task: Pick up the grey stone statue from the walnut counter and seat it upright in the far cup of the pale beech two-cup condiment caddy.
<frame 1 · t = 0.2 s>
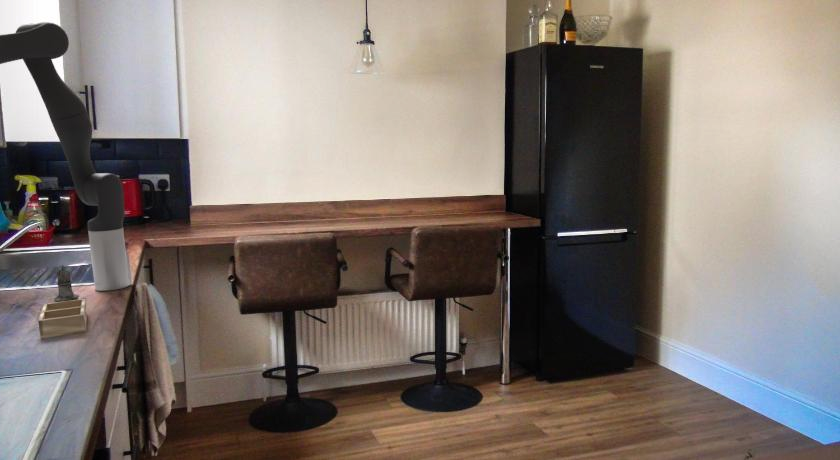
caddy: (65, 325, 161), on the worktop
grey stone statue: (68, 311, 174), on the worktop
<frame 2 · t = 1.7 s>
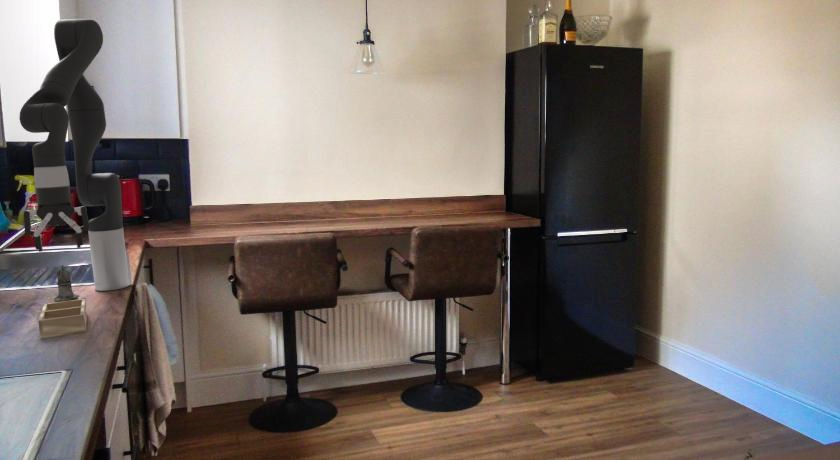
hand: (60, 249, 172), 16 cm above the worktop, fingers open, 8 cm apart
nothing on the worktop moved.
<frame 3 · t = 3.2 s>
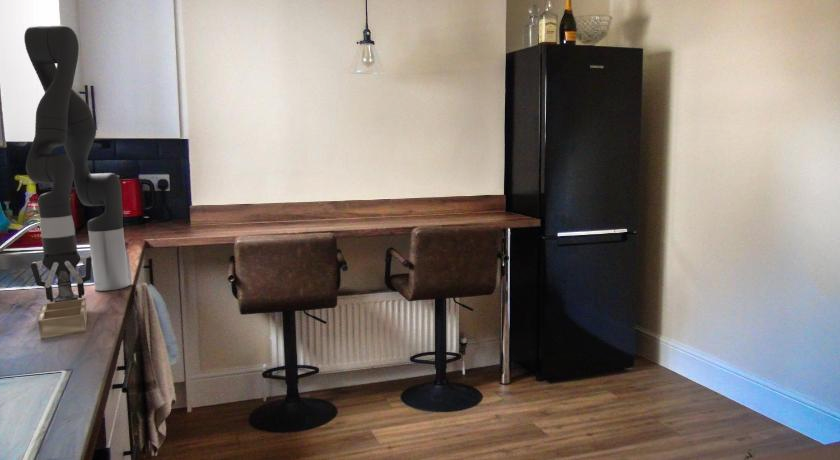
hand: (66, 299, 173), 3 cm above the worktop, fingers closed on grey stone statue, 6 cm apart
grey stone statue: (67, 311, 174), on the worktop, touching gripper
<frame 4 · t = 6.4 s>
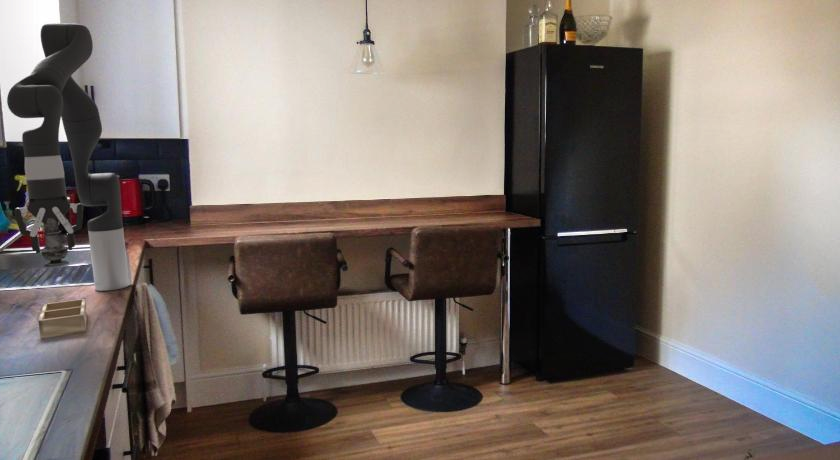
hand: (54, 250, 154), 18 cm above the worktop, fingers closed on grey stone statue, 6 cm apart
grey stone statue: (56, 265, 155), point 15 cm above the worktop, touching gripper
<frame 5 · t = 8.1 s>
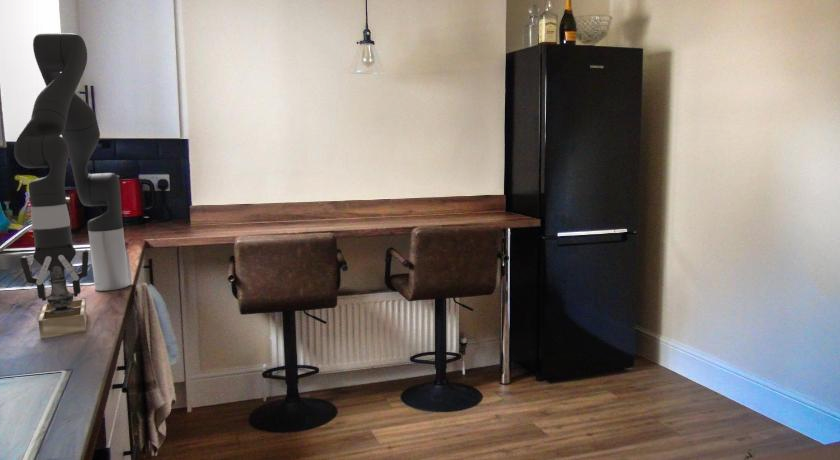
hand: (60, 297, 156), 8 cm above the worktop, fingers closed on grey stone statue, 6 cm apart
grey stone statue: (62, 311, 156), point 4 cm above the worktop, touching gripper
when the fingers open (6 cm above the worktop, at t = 9.5 s): grey stone statue drops 2 cm, resting on caddy.
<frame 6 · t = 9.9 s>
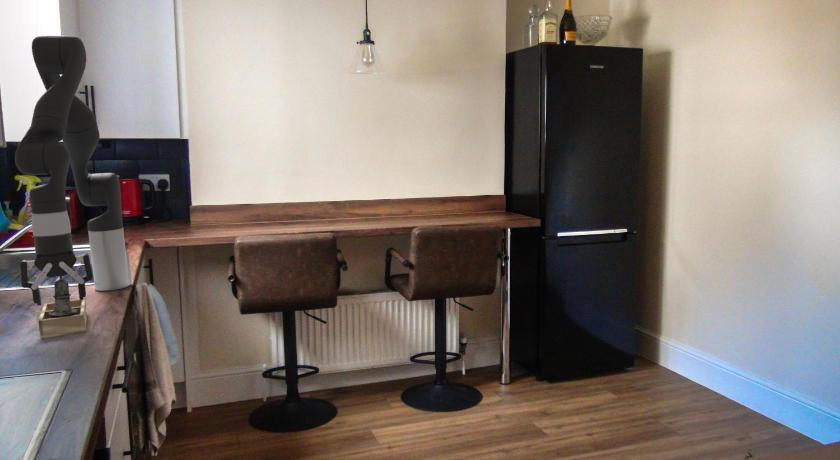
hand: (60, 302, 156), 7 cm above the worktop, fingers open, 8 cm apart
grey stone statue: (64, 328, 157), resting on caddy
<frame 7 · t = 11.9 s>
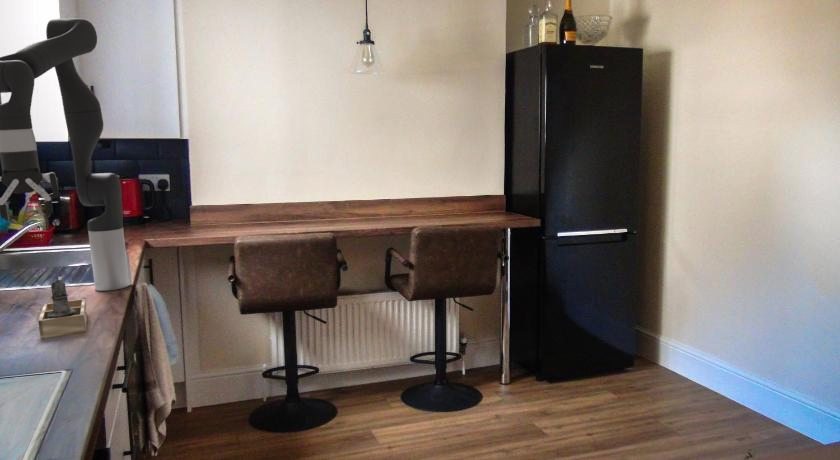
hand: (28, 218, 161), 25 cm above the worktop, fingers open, 8 cm apart
nothing on the worktop moved.
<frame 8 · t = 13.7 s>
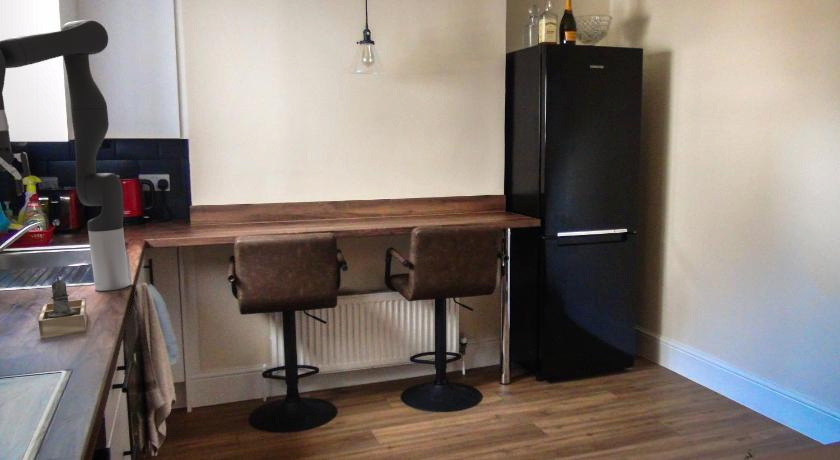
nothing on the worktop moved.
at the end: grey stone statue 0.1 cm from the target spot, resting on caddy; grey stone statue tilted 0°; the gripper is holding nothing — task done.
